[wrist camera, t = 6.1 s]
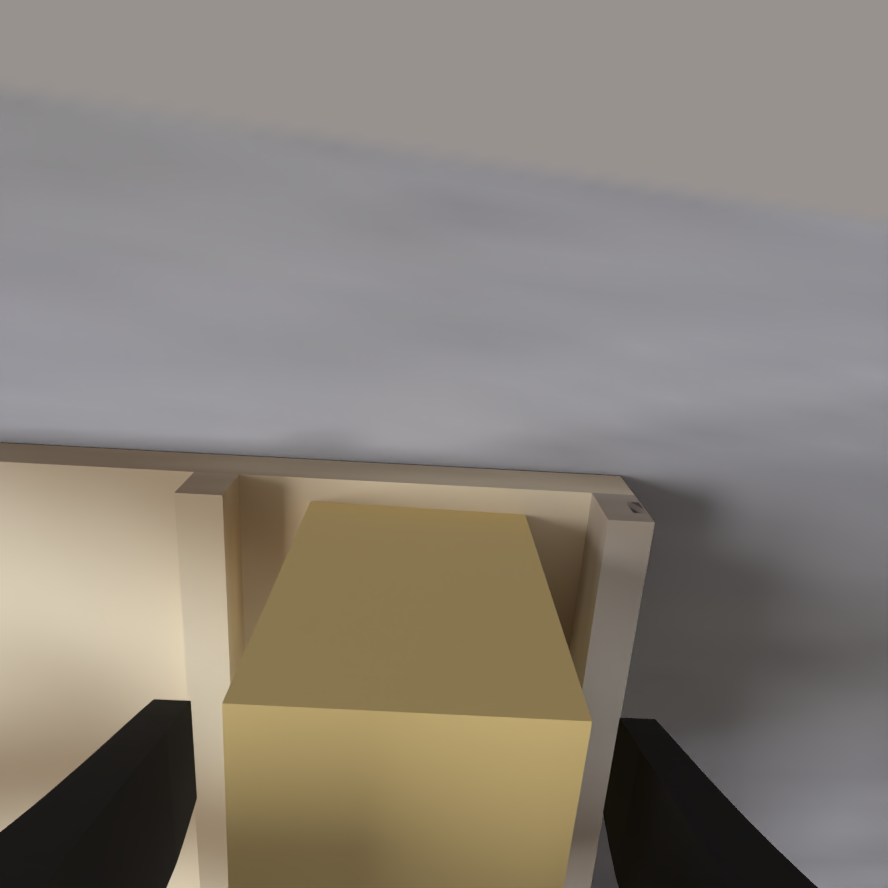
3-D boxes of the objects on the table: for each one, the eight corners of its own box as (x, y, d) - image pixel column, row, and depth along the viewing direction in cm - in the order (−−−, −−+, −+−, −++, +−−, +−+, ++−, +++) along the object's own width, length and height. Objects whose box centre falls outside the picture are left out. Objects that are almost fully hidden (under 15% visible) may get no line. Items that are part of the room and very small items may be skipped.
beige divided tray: (535, 1021, 18) (548, 1123, 16) (-141, 1005, 18) (-218, 1110, 16) (619, 475, 13) (655, 522, 11) (-314, 425, 13) (-461, 465, 11)
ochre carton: (305, 501, 12) (213, 702, 7) (525, 514, 13) (592, 721, 7) (302, 798, 15) (229, 1120, 9) (490, 806, 15) (522, 1127, 9)
